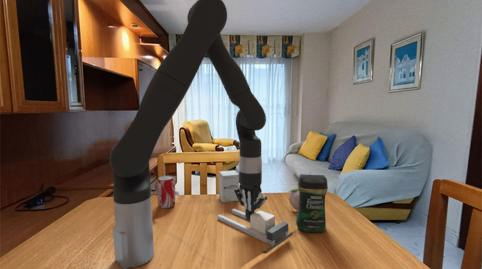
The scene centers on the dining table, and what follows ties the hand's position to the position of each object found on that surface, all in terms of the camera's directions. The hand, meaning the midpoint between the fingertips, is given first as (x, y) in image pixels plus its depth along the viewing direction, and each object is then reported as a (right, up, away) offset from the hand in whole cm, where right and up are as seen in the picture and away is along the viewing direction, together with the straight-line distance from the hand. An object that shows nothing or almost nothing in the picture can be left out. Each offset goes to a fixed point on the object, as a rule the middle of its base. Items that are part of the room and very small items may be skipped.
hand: (249, 219), depth 85 cm
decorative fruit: (+20, -2, +14) cm, 25 cm away
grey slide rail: (0, -4, 0) cm, 4 cm away
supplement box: (-8, 0, +25) cm, 26 cm away
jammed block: (+4, -3, -3) cm, 6 cm away
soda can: (-33, -1, +20) cm, 39 cm away
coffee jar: (+21, -4, +1) cm, 21 cm away
